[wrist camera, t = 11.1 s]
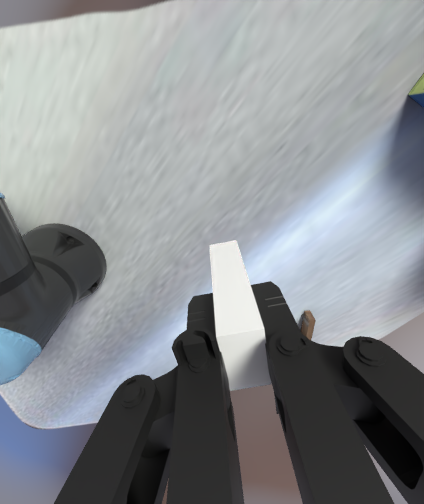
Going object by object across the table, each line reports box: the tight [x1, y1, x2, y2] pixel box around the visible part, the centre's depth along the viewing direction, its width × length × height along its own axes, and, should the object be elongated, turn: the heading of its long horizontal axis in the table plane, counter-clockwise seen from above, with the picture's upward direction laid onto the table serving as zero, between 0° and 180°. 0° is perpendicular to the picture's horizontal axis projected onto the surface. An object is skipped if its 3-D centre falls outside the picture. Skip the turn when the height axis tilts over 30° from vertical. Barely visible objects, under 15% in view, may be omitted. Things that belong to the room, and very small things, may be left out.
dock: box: [301, 311, 315, 340], centre depth 54 cm, size 13×9×4 cm
